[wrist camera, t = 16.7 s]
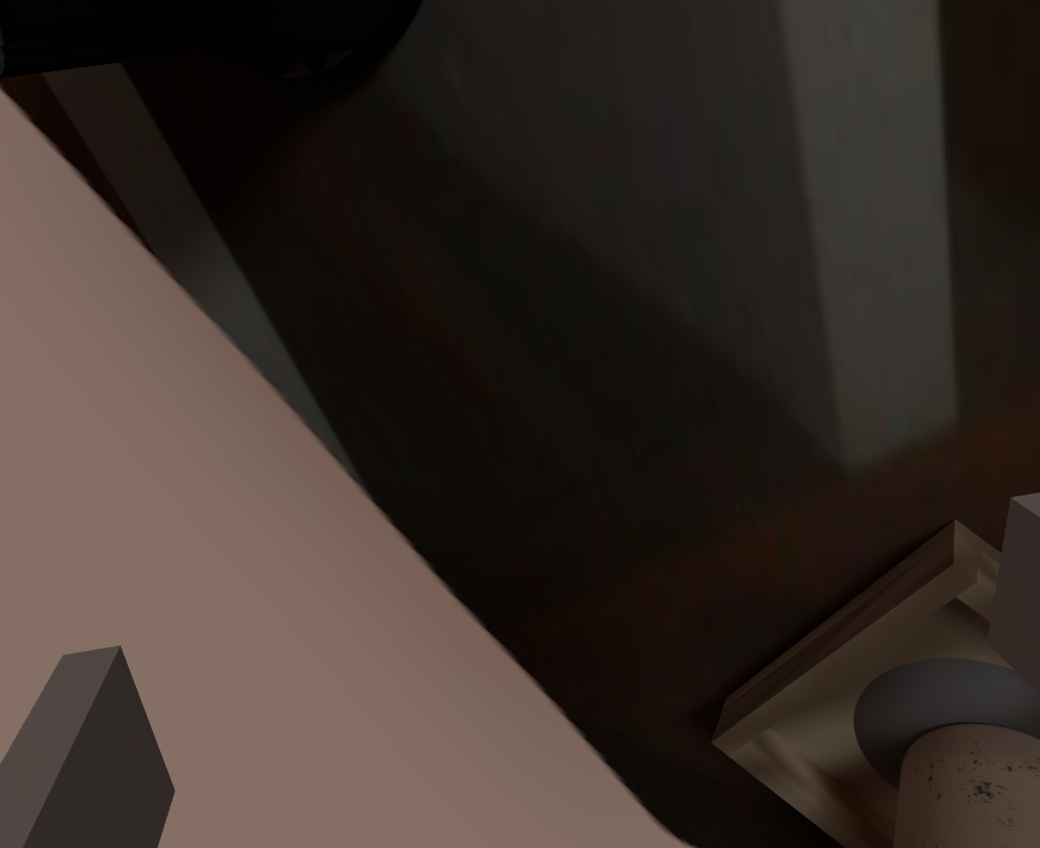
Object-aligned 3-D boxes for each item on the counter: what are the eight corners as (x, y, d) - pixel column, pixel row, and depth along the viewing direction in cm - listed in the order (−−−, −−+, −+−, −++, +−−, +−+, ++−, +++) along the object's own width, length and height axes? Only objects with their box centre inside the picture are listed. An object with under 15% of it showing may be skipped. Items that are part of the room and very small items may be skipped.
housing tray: (726, 698, 48) (711, 742, 46) (955, 519, 37) (953, 564, 34) (984, 898, 46) (984, 957, 44) (1306, 774, 35) (1333, 842, 33)
